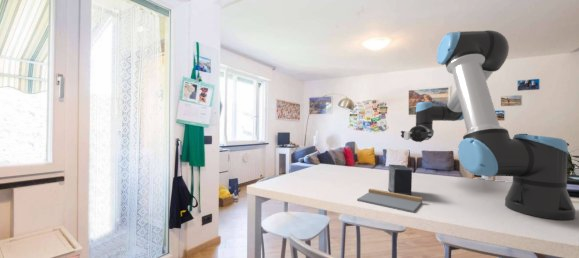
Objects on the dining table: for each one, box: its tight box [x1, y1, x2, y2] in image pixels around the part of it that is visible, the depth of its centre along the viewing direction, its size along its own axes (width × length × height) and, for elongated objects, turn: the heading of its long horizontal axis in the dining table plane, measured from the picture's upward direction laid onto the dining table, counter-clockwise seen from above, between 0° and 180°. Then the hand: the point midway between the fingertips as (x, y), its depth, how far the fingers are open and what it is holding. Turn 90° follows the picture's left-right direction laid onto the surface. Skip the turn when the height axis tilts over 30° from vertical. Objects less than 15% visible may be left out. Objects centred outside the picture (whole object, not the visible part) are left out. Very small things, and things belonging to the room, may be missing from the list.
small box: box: [387, 164, 413, 196], centre depth 93 cm, size 11×6×10 cm, turn 168°
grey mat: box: [356, 188, 423, 214], centre depth 84 cm, size 18×12×2 cm, turn 50°
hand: (405, 135), depth 99 cm, fingers closed
